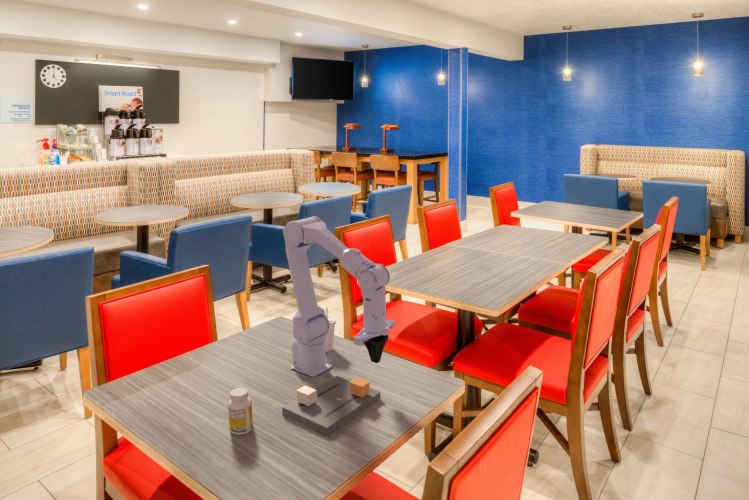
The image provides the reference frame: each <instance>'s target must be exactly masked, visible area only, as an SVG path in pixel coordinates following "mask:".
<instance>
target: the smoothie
mask: <svg viewBox="0 0 749 500" xmlns="http://www.w3.org/2000/svg"><path fill="white" fill-rule="evenodd" d="M328 312H329V310H328V306H326V307H325V315H326V317H327V319H328V320H329V323H330V330H329V332H328V333H326V338H325V353H329V352H332V351H333V349H334V348H333V347H334V339H335V338H334V337H335V329H336V328H335V327H336V323H337V320H336V318H334V317H330V316H329V313H328Z"/></svg>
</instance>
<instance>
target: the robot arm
mask: <svg viewBox="0 0 749 500" xmlns="http://www.w3.org/2000/svg"><path fill="white" fill-rule="evenodd" d="M282 233H283V234H282V235H283V238H284V242H285V243H284V244H285V254H286V258H287V262H288V267H289V272H290V277H291V283H292V286H293V287H292V288H293V291H294V296H295V300H296V304H297V305H296V306H297V311H296V312H295V314H294V315H293V317H292V324H293V325H292V327H293V328H292V335H293V337H294V340H293V342H292V345H291V352H292V353H291V355H292V365H291V366H290V368H291V369H292V370H295V371H297V372H299V373H303V374H304V375H307V376H310V377H313V378H315V377H317V376H318V375H320V374H322V373H324V372H326V371H328V370H329V369H331V368H333V364H330V363H327V362H326V360H327V358H326V352H325V338H326V333H328V332H329V330H330V323H329V320H328V319H327V317H326V310H325V309H324V308H322V307H321V306H319V305H318V303H317V299H316V298H317V297H316V293H315V288H314V284H313V278H312V273H311V268H310V265H309V264H310V263H309V260H308V255H307V251H308V250H309V248H310V247H311V246H312V244H318V245H320V246H321V247H323V248H324V249H326V251H329V252H330V253H331V254H332V255H334V256H335V257H336V258H338V259H339V265H340V266H341V267H342V268H343V269H344V270H346V271H347V272H348V273H349V274H351V276H353V277H354V278H356V281H357V284H358V286H359V288H360V290H361V296H362V301H363V302H362V303H363V305H362V306H363V307H362V308H363V313H362V314H363V328H362V329H360V331H359V332H358V333H357V334H356V335H354V336H353V344H354V345H357V346H360V347H361V346H363V344H364V345H365V347H366V351H367V352H368V356H369V358H370V362H372V363H375V364H378V363H380V362H381V359H382V355H383V351H384V348H385V346H386V343H387V341H388V340H389V334H390V329H394V328H396V327H395V326H396V325H395V320H392V319H387V317H386V315H387V311H386V309H387V308H386V305H387V303H386V296H387V295H386V294H387V293H386V292H387V291H386V286H387V285H388V284H389V283H390V281H391V280H390V279H391V276H390V271H389V270H388V269H387V268H386V266H385V265H384V264H381V263H375V262H373V260H370V259H369V258H368V257H366V256H365V255H364V254H362V253H361V251H362V250H360V249H359V248H354V247H352V248H348V247H347V246H346V245H345V244H344V243H343V242H342V241H341V240H340V239H339V238H338V237H336V235H335V234H334V233H332V232H331V231H330V230H329V229H328V228H327V224H326V222H324V221H323V220H321V218H320V217H318V216H315V215H313V216H310V217H305V218H301V219H299V220H291V221H287V223H286V224H285V226H284V228H283V230H282Z"/></svg>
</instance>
